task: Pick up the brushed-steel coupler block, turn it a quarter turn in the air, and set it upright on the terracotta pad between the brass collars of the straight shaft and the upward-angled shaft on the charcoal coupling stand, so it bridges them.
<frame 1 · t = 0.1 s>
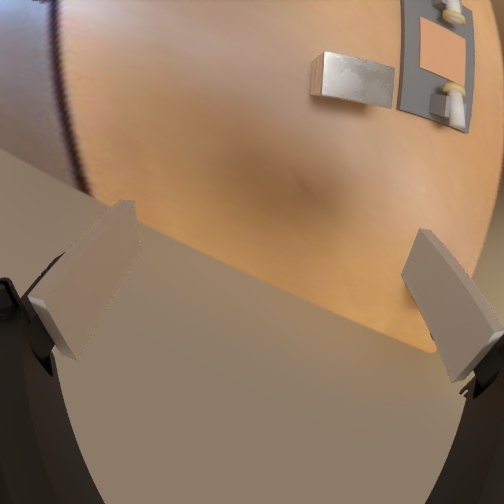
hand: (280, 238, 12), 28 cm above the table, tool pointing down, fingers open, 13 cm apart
coupling stand: (439, 52, 24), on the table
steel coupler: (339, 82, 30), on the table
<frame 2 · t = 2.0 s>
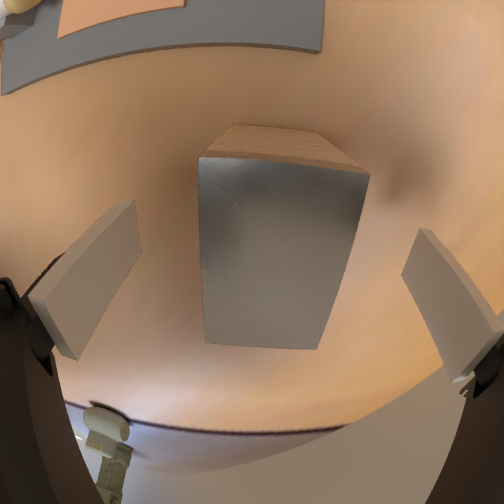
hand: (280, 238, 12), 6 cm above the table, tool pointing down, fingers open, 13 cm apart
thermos: (119, 443, 60), on the table
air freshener: (110, 412, 43), on the table
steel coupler: (269, 189, 17), on the table
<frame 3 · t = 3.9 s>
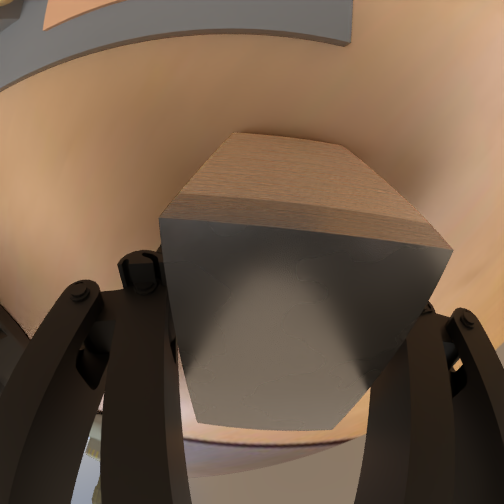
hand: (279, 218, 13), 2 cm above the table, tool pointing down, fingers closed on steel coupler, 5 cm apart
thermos: (121, 447, 59), on the table
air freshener: (111, 419, 41), on the table
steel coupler: (279, 215, 14), point 1 cm above the table, touching gripper
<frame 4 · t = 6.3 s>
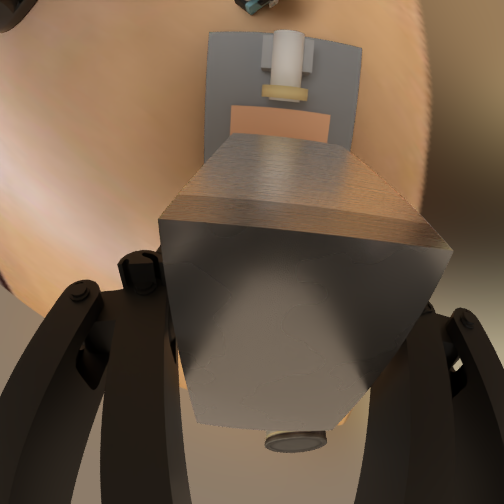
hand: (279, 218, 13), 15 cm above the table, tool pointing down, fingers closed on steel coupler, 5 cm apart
coupling stand: (276, 151, 25), on the table
coffee can: (294, 378, 47), on the table
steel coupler: (279, 216, 14), point 14 cm above the table, touching gripper
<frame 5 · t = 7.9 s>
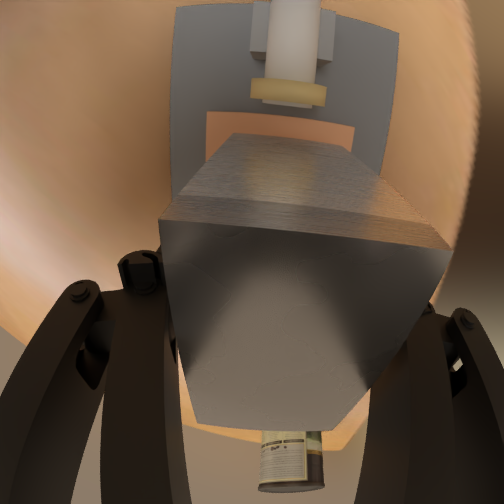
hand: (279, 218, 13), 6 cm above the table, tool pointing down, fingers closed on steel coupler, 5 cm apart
coupling stand: (274, 177, 18), on the table
coffee can: (291, 417, 40), on the table
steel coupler: (279, 216, 14), point 6 cm above the table, touching gripper
when the fingers open (2 cm above the table, at t = 8.9 s): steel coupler stays where it is, resting on coupling stand.
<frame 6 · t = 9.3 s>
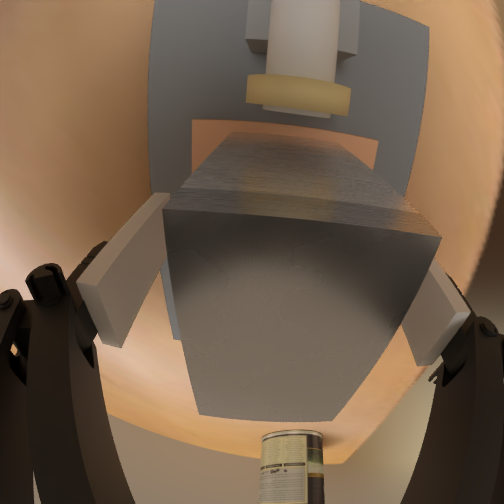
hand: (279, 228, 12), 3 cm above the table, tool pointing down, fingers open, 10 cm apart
coupling stand: (277, 200, 15), on the table
coffee can: (291, 437, 37), on the table
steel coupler: (277, 212, 14), point 2 cm above the table, touching coupling stand
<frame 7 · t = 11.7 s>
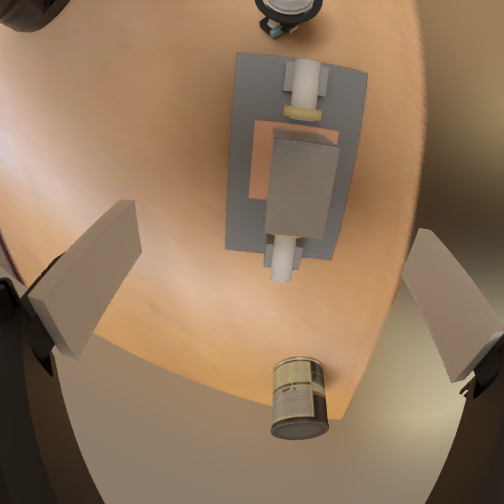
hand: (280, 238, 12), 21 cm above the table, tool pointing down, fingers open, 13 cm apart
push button: (288, 20, 21), on the table
coupling stand: (291, 161, 30), on the table
coffee can: (297, 369, 51), on the table
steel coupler: (292, 164, 28), point 2 cm above the table, touching coupling stand
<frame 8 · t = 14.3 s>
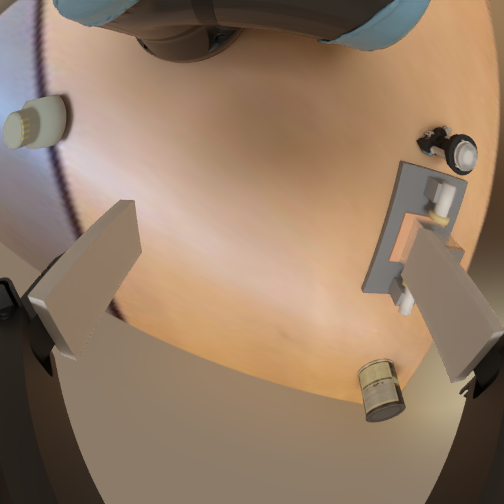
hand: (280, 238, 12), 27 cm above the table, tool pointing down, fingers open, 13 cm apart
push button: (431, 137, 31), on the table
coupling stand: (415, 236, 40), on the table
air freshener: (53, 118, 32), on the table
coffee can: (375, 368, 62), on the table
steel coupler: (418, 240, 39), point 2 cm above the table, touching coupling stand
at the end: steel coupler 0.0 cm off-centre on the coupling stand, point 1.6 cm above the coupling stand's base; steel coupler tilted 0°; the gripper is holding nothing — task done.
